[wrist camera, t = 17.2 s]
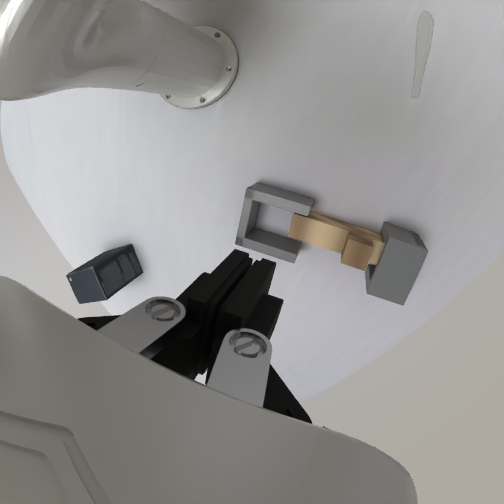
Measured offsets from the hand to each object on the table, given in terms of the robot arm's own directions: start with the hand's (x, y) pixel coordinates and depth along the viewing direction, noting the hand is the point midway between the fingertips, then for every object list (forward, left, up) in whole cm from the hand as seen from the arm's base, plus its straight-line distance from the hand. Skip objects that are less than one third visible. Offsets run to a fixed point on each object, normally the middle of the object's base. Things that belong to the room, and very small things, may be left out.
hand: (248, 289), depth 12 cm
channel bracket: (+12, -6, -29) cm, 32 cm away
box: (-29, -22, -29) cm, 47 cm away
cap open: (-4, -6, -29) cm, 30 cm away
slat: (+6, -6, -29) cm, 30 cm away
